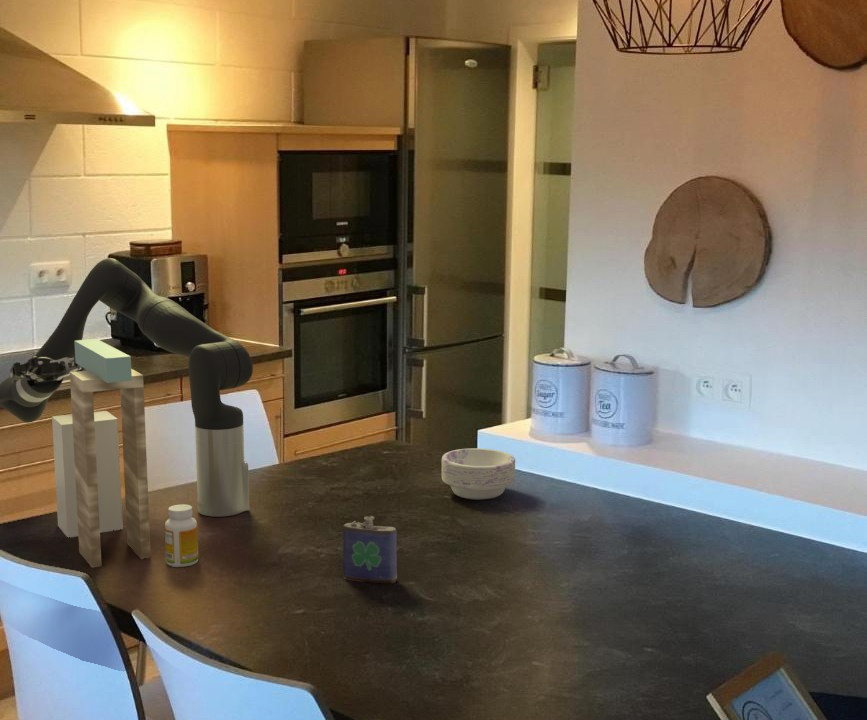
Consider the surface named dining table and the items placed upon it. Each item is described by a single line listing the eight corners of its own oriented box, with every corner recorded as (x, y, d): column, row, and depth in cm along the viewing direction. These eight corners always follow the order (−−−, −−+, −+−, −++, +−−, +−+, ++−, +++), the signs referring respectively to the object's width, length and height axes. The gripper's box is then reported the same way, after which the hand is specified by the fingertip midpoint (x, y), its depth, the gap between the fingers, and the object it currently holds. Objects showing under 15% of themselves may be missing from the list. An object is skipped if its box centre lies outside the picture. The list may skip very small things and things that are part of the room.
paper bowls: (517, 504, 226) (517, 466, 225) (441, 504, 227) (441, 465, 225) (512, 483, 241) (513, 447, 240) (441, 483, 242) (441, 447, 240)
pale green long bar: (98, 360, 204) (97, 339, 203) (131, 380, 185) (130, 356, 184) (75, 362, 202) (74, 340, 201) (107, 382, 183) (106, 358, 182)
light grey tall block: (111, 517, 217) (106, 410, 214) (122, 529, 210) (117, 418, 207) (58, 525, 212) (51, 416, 209) (67, 537, 205) (61, 424, 202)
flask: (398, 579, 185) (398, 516, 183) (393, 585, 182) (392, 521, 181) (345, 573, 188) (344, 511, 186) (339, 579, 185) (338, 516, 183)
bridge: (136, 542, 203) (128, 367, 197) (150, 557, 195) (143, 375, 190) (79, 552, 198) (69, 372, 192) (91, 567, 190) (82, 380, 185)
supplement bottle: (202, 557, 195) (200, 503, 194) (193, 568, 190) (190, 512, 188) (172, 556, 196) (170, 502, 194) (161, 567, 190) (159, 511, 189)
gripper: (-1, 365, 225) (17, 343, 212) (71, 359, 233) (92, 337, 220) (5, 402, 224) (23, 382, 210) (77, 394, 232) (99, 374, 218)
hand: (59, 359), depth 215 cm, fingers open, 8 cm apart
